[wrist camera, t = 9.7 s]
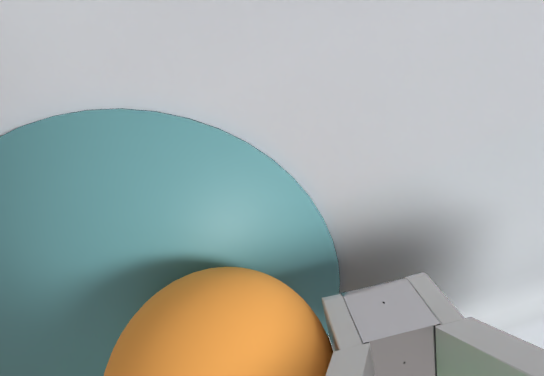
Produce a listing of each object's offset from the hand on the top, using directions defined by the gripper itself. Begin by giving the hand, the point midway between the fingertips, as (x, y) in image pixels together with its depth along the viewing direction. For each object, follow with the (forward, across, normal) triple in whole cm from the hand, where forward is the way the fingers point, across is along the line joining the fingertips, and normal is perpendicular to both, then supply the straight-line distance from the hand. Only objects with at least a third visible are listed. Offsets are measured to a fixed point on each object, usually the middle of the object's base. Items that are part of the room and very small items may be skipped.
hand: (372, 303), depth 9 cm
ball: (-1, +4, 0) cm, 4 cm away
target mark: (+2, +6, 0) cm, 7 cm away
